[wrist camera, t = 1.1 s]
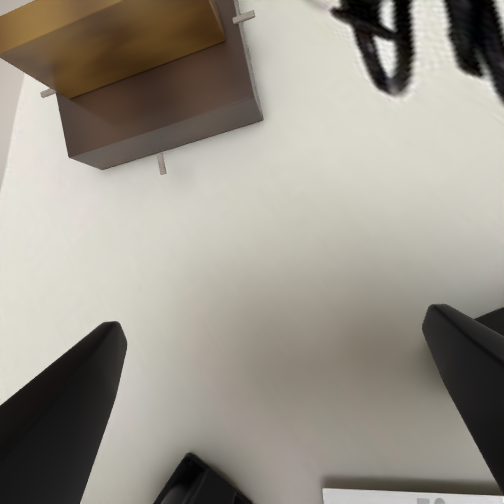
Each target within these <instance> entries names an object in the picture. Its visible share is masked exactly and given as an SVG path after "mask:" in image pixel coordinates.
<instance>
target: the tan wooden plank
mask: <svg viewBox="0 0 504 504" xmlns="http://www.w3.org/2000/svg"><path fill="white" fill-rule="evenodd" d="M223 41H226V38H225V33H224V29H223V24H222V20H221V15H220V11H219V8H218V6H217V3H216V0H35V1H32V2H30V3H28V4H26V5H24V6H21V7H19V8H17V9H15V10H13V11H11V12H9V13H6V14H4V15H2V16H0V58H2V59H3V60H5V61H7V62H8V63H10V64H12V65H13V66H15V67H17V68H18V69H20V70H21V71H23V72H25V73H26V74H28V75H30V76H31V77H33V78H35V79H36V80H38V81H39V82H41V83H43V84H44V85H46V86H48V87H49V88H51V89H53V90H54V91H56V92H58V93H59V94H61V95H63V96H64V97H66V98H67V99H71V98H73V97H76V96H79V95H81V94H84V93H87V92H89V91H92V90H95V89H97V88H100V87H103V86H105V85H108V84H111V83H114V82H116V81H119V80H122V79H124V78H127V77H130V76H132V75H135V74H138V73H140V72H143V71H146V70H148V69H151V68H154V67H156V66H159V65H162V64H164V63H167V62H170V61H173V60H175V59H178V58H181V57H183V56H186V55H189V54H191V53H194V52H197V51H199V50H202V49H205V48H207V47H210V46H213V45H215V44H218V43H221V42H223Z"/></svg>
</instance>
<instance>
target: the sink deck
mask: <svg viewBox="0 0 504 504" xmlns="http://www.w3.org/2000/svg"><path fill="white" fill-rule="evenodd" d="M216 3H217V6H218V8H219V11H220V15H221V20H222V24H223V29H224V33H225V38H226V41H223V42H221V43H218V44H215V45H213V46H210V47H207V48H205V49H202V50H199V51H197V52H194V53H191V54H189V55H186V56H183V57H181V58H178V59H175V60H173V61H170V62H167V63H164V64H162V65H159V66H156V67H154V68H151V69H148V70H146V71H143V72H140V73H138V74H135V75H132V76H130V77H127V78H124V79H122V80H119V81H116V82H114V83H111V84H108V85H105V86H103V87H100V88H97V89H95V90H92V91H89V92H87V93H84V94H81V95H79V96H76V97H73V98H71V99H67V98H66V97H64V96H63V95H61V94H59V93H58V92H56V91H54V90H53V89H51V88H50V89H48V90H45V91H43V92H40V93H41V97H42V98H44V97H47V96H50V95H52V94H55V93H56V96H57V101H58V106H59V111H60V116H61V121H62V126H63V131H64V136H65V141H66V146H67V151H68V157H69V158H71V159H74V160H77V161H79V162H82V163H85V164H88V165H90V166H93V167H96V168H98V169H101V170H103V169H106V168H110V167H113V166H116V165H119V164H123V163H126V162H129V161H132V160H136V159H139V158H142V157H145V156H148V155H152V154H155V153H158V152H161V151H165V150H168V149H171V148H174V147H178V146H181V145H184V144H187V143H191V142H194V141H197V140H200V139H204V138H207V137H210V136H213V135H217V134H220V133H223V132H226V131H230V130H233V129H236V128H239V127H242V126H246V125H249V124H252V123H255V122H259V121H262V120H263V116H262V111H261V107H260V102H259V97H258V93H257V88H256V84H255V79H254V74H253V70H252V65H251V61H250V56H249V51H248V47H247V42H246V38H245V33H244V28H243V24H242V22H244V21H246V20H249V19H251V18H254V17H255V13H254V10H252V11H249V12H247V13H244V14H242V15H241V14H240V10H239V5H238V1H237V0H216ZM157 158H158V163H159V168H160V173H161V175H163V174H166V168H165V164H164V159H163V154H162V153H158V154H157Z"/></svg>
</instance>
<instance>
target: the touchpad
mask: <svg viewBox="0 0 504 504" xmlns="http://www.w3.org/2000/svg"><path fill="white" fill-rule="evenodd" d="M322 491H323V499H324V504H504V496H493V495H470V494H447V493H424V492H401V491H378V490H355V489H332V488H322Z"/></svg>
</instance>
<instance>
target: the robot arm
mask: <svg viewBox="0 0 504 504" xmlns="http://www.w3.org/2000/svg"><path fill="white" fill-rule="evenodd" d="M422 330H423V334H424V336H425V339H426V341H427V344H428V346H429V349H430V351H431V354H432V356H433V359H434V361H435V363H436V366H437V368H438V371H439V373H440V376H441V378H442V380H443V382H444V384H445V386H446V388H447V390H448V392H449V394H450V396H451V398H452V400H453V402H454V403H455V405H456V407H457V409H458V411H459V413H460V415H461V417H462V418H463V420H464V422H465V424H466V426H467V428H468V430H469V432H470V433H471V435H472V437H473V439H474V441H475V443H476V445H477V447H478V448H479V450H480V452H481V454H482V456H483V458H484V460H485V462H486V463H487V465H488V467H489V469H490V471H491V473H492V475H493V477H494V478H495V480H496V482H497V484H498V486H499V488H500V490H501V492H502V493H503V495H504V336H502V335H500V334H498V333H497V332H495V331H493V330H491V329H490V328H488V327H486V326H484V325H482V324H481V323H479V322H477V321H475V320H474V319H472V318H470V317H468V316H467V315H465V314H463V313H461V312H460V311H458V310H456V309H454V308H452V307H451V306H449V305H447V304H432V305H430V306H429V307H428V310H427V313H426V316H425V318H424V321H423V324H422ZM126 350H127V340H126V337H125V335H124V332H123V330H122V327H121V325H120V323H119V322H116V321H112V322H103V323H102V324H100V325H99V326H98V327H97V328H95V329H94V330H93V331H92V332H90V333H89V334H88V335H87V336H86V337H84V338H83V339H82V340H81V341H79V342H78V343H77V344H76V345H74V346H73V347H72V348H71V349H69V350H68V351H67V352H66V353H65V354H63V355H62V356H61V357H60V358H58V359H57V360H56V361H55V362H53V363H52V364H51V365H50V366H48V367H47V368H46V369H45V370H44V371H42V372H41V373H40V374H39V375H37V376H36V377H35V378H34V379H32V380H31V381H30V382H29V383H27V384H26V385H25V386H24V387H23V388H21V389H20V390H19V391H18V392H16V393H15V394H14V395H13V396H11V397H10V398H9V399H8V400H7V401H5V402H4V403H3V404H2V405H0V504H80V502H81V499H82V496H83V493H84V490H85V487H86V484H87V481H88V478H89V476H90V473H91V470H92V467H93V464H94V461H95V458H96V455H97V452H98V449H99V446H100V443H101V440H102V437H103V434H104V431H105V428H106V426H107V423H108V420H109V417H110V414H111V411H112V408H113V405H114V402H115V398H116V394H117V390H118V386H119V381H120V377H121V373H122V368H123V364H124V359H125V355H126ZM188 460H190V461H191V463H190V462H188ZM153 504H252V502H251V501H249V500H248V499H247V498H246V497H244V496H243V495H242V494H241V493H240V492H238V491H237V490H236V489H235V488H234V487H232V486H231V485H230V484H229V483H227V482H226V481H225V480H224V479H223V478H221V477H220V476H219V475H218V474H216V473H215V472H214V471H213V470H212V469H210V468H209V467H208V466H207V465H206V464H204V463H203V462H202V461H201V460H199V459H198V458H197V457H196V456H195V455H193V454H191V453H188V454H186V455H185V457H184V458H183V460H182V461H181V463H180V464H179V466H178V467H177V469H176V470H175V472H174V473H173V475H172V476H171V478H170V479H169V481H168V482H167V484H166V485H165V487H164V488H163V490H162V491H161V493H160V494H159V496H158V497H157V499H156V500H155V502H154V503H153Z"/></svg>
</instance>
